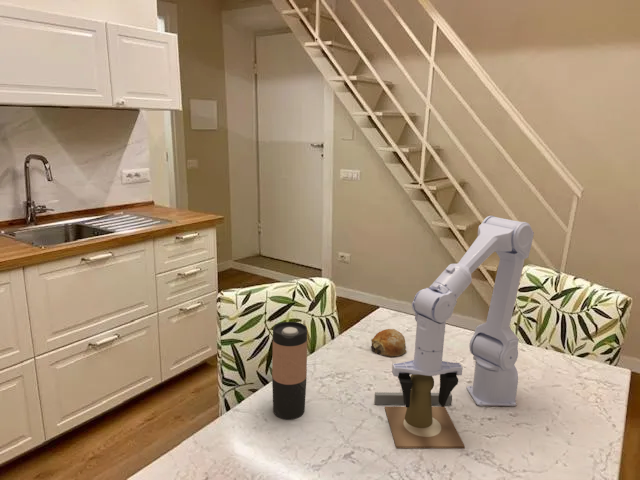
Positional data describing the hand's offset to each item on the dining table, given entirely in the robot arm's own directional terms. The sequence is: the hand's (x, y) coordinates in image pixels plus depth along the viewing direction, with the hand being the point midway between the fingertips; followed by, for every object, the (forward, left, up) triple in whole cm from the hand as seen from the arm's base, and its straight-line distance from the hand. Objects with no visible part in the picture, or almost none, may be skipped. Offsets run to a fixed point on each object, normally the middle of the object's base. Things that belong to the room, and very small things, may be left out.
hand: (424, 404), depth 101 cm
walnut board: (0, 0, -6) cm, 6 cm away
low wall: (0, -9, -6) cm, 11 cm away
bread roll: (+1, -37, -6) cm, 37 cm away
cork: (0, -2, -5) cm, 5 cm away
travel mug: (+29, -6, -6) cm, 30 cm away
